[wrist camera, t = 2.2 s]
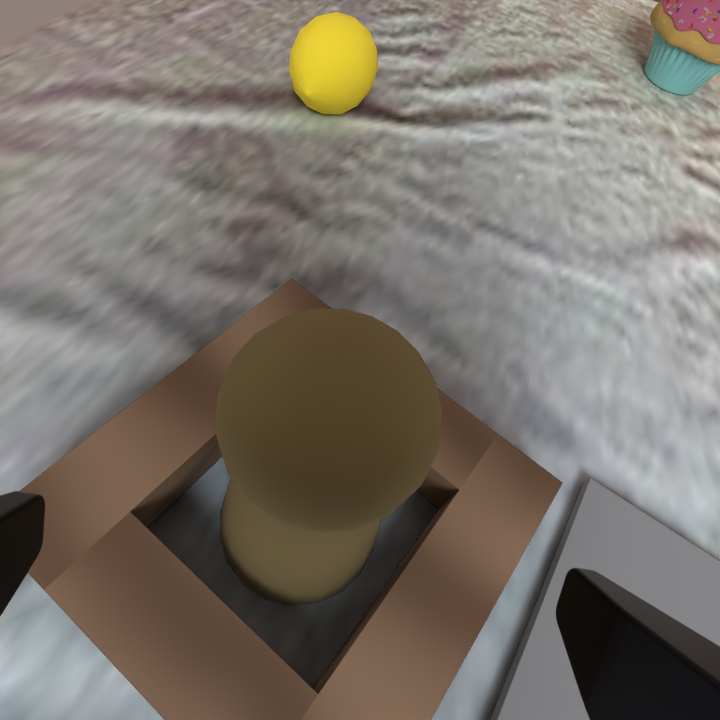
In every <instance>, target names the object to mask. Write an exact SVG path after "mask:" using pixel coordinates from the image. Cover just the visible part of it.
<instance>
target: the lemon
mask: <svg viewBox="0 0 720 720" xmlns="http://www.w3.org/2000/svg"><path fill="white" fill-rule="evenodd" d="M377 70H378V60H377V49H376V46H375V44H374V41H373V39H372V36H371V34H370V31H369V30H368V29H367V28H366V27H365V26H363V25H362V24H361V23H360V22H359V21H357V20H356V19H355V18H354V17H352V16H349V15H345V14H342V13H339V12H334V13H330V14H325V15H320V16H316V17H315V18H314V19H313V20H312V21H310V22H309V23H308V24H307V25H306V26H304V27H303V28H302V29H301V30H300V31H299V33H298V35H297V38H296V40H295V42H294V45H293V47H292V49H291V52H290V66H289V73H290V76H291V78H292V83H293V87H294V91H295V92H296V94H297V95H298V96H299V97H300V98H301V100H302V101H303V102H304V103H305V105H306V106H307V107H309V108H311V109H313V110H316V111H318V112H320V113H322V114H343V113H344V112H346V111H348V110H350V109H352V108H354V107H356V106H358V104H359V103H360V102H361V101H362V99H363V98H364V97H365V96H366V95H367V93H368V92H369V91H370V90H371V88H372V85H373V82H374V79H375V76H376V73H377Z"/></svg>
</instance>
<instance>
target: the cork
mask: <svg viewBox="0 0 720 720" xmlns="http://www.w3.org/2000/svg"><path fill="white" fill-rule="evenodd" d="M441 420H442V409H441V404H440V399H439V395H438V390H437V386H436V382H435V380H434V379H433V377H432V375H431V373H430V372H429V370H428V368H427V366H426V365H425V363H424V361H423V359H422V358H421V356H420V354H419V353H418V351H417V350H416V349H415V348H414V347H413V346H412V345H411V344H410V343H409V342H408V341H407V340H406V339H405V338H404V337H403V336H402V335H401V334H400V333H399V332H398V331H396V330H395V329H393V328H391V327H389V326H388V325H386V324H384V323H382V322H380V321H379V320H377V319H375V318H373V317H371V316H368V315H364V314H360V313H357V312H353V311H349V310H346V309H311V310H307V311H303V312H299V313H295V314H291V315H287V316H285V317H283V318H281V319H279V320H278V321H276V322H274V323H272V324H271V325H269V326H267V327H266V328H264V329H262V330H261V331H259V332H257V333H255V334H254V335H253V336H252V337H251V338H250V339H249V340H248V342H247V343H246V344H245V345H244V346H243V347H242V348H241V349H240V351H239V352H238V353H237V354H236V355H235V356H234V357H233V359H232V362H231V364H230V366H229V369H228V371H227V374H226V376H225V379H224V381H223V383H222V386H221V388H220V391H219V393H218V396H217V406H216V435H217V440H218V444H219V447H220V450H221V453H222V456H223V459H224V462H225V465H226V468H227V471H228V474H229V475H230V476H231V479H230V482H229V485H228V489H227V492H226V496H225V499H224V502H223V506H222V509H221V517H220V540H221V543H222V546H223V549H224V553H225V556H226V559H227V562H228V564H229V565H230V567H231V568H232V569H233V571H234V572H235V573H236V575H237V576H238V577H239V579H240V580H241V582H242V583H243V584H244V585H245V586H247V587H248V588H250V589H251V590H253V591H254V592H256V593H257V594H259V595H260V596H262V597H263V598H265V599H268V600H272V601H276V602H280V603H284V604H288V605H299V604H308V603H318V602H320V601H322V600H324V599H326V598H329V597H331V596H333V595H335V594H337V593H339V592H341V591H343V590H344V589H345V588H346V587H347V586H348V585H349V584H350V583H351V582H352V581H353V580H354V579H355V578H356V577H357V576H358V575H359V574H360V573H361V572H362V570H363V568H364V566H365V564H366V562H367V560H368V558H369V556H370V554H371V553H372V551H373V547H374V544H375V540H376V537H377V533H378V530H379V526H380V523H381V519H382V518H384V517H386V516H389V515H390V514H392V513H393V512H394V511H395V510H396V509H397V508H398V507H399V506H400V505H401V504H402V503H403V502H404V501H405V500H407V499H408V498H409V497H410V496H411V495H412V494H413V493H414V492H415V491H416V490H417V489H418V488H419V487H420V486H421V485H422V483H423V481H424V479H425V477H426V475H427V473H428V471H429V469H430V467H431V465H432V463H433V461H434V459H435V457H436V455H437V450H438V444H439V436H440V428H441Z"/></svg>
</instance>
